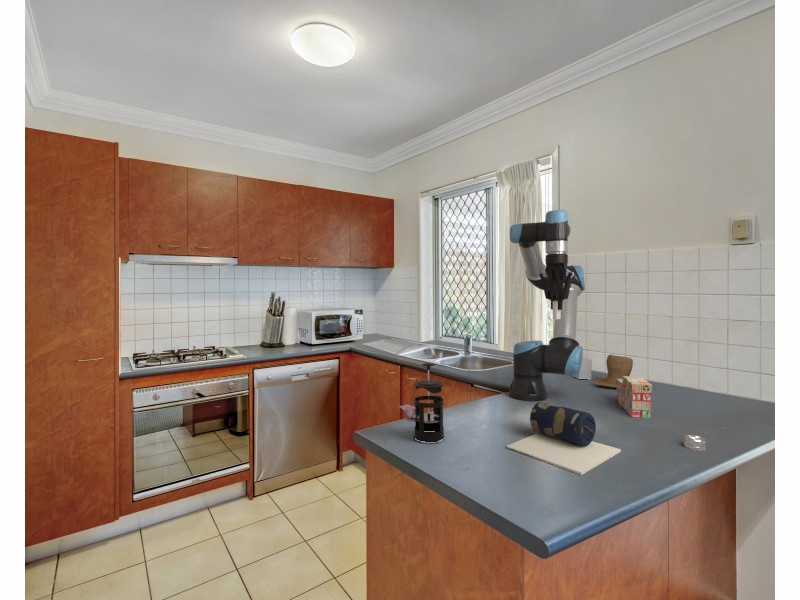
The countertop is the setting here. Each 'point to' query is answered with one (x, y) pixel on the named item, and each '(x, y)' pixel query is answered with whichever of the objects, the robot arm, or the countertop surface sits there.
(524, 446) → the mat
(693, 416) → the countertop surface
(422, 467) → the countertop surface
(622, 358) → the brown wooden stand
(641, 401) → the stack of blocks
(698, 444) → the grooved metal pulley
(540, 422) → the canister
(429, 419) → the french press
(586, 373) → the skincare box
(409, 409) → the rabbit figure
